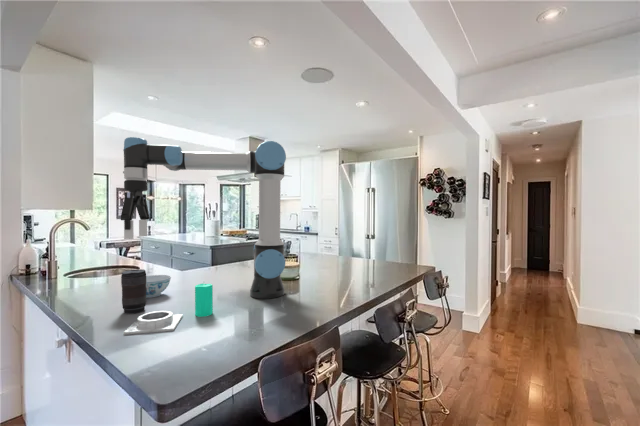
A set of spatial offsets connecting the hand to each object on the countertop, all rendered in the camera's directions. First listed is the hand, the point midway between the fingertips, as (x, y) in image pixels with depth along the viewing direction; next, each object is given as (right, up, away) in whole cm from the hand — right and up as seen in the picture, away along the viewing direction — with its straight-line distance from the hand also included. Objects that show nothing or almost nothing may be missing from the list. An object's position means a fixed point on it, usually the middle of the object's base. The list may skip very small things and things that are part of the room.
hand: (136, 237), depth 117 cm
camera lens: (-2, -28, +1) cm, 28 cm away
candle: (+26, -28, -3) cm, 38 cm away
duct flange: (+14, -27, -14) cm, 34 cm away
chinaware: (-7, -28, +24) cm, 37 cm away
